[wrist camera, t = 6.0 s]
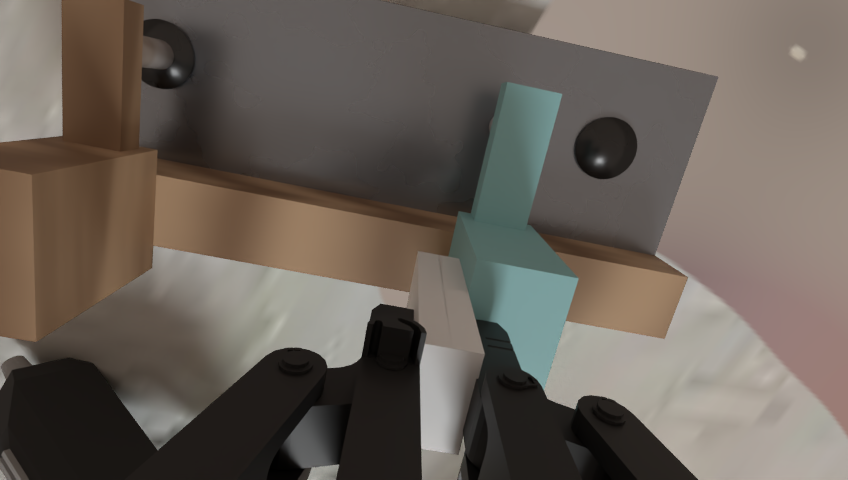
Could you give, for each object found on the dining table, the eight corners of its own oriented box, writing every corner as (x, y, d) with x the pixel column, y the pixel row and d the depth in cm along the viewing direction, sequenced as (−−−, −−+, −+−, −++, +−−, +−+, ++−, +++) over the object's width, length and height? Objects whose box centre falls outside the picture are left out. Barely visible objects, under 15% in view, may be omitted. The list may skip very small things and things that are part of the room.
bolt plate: (125, 217, 24) (107, 224, 22) (133, -51, 20) (113, -61, 19) (622, 309, 26) (633, 320, 24) (702, 77, 22) (721, 76, 21)
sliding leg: (431, 293, 24) (440, 409, 15) (477, 82, 21) (523, 71, 12) (489, 304, 24) (533, 424, 15) (543, 97, 21) (636, 96, 12)
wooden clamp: (110, 233, 23) (-91, 321, 14) (115, 4, 20) (-133, -74, 11) (628, 327, 25) (752, 460, 16) (699, 130, 22) (898, 154, 13)
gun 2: (152, 321, 31) (-39, 353, 22) (313, 517, 27) (158, 661, 18) (132, 352, 32) (-62, 396, 23) (286, 548, 28) (122, 704, 18)
